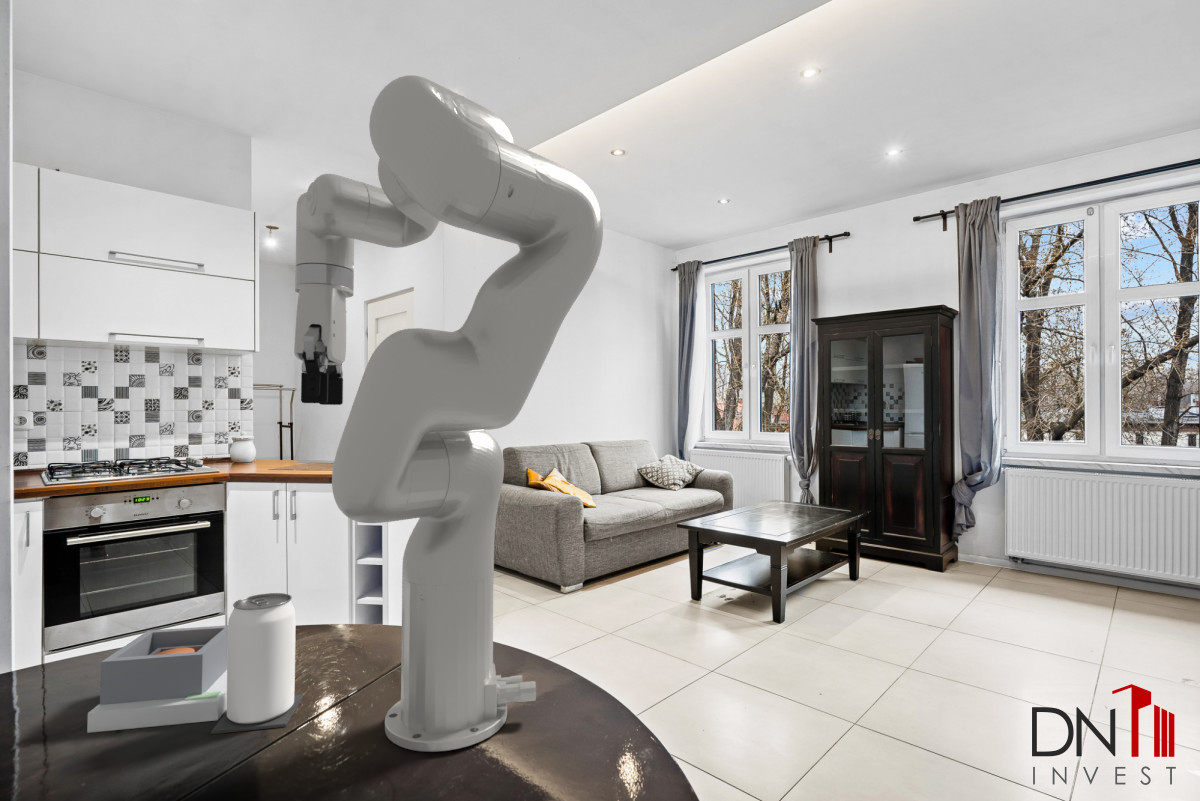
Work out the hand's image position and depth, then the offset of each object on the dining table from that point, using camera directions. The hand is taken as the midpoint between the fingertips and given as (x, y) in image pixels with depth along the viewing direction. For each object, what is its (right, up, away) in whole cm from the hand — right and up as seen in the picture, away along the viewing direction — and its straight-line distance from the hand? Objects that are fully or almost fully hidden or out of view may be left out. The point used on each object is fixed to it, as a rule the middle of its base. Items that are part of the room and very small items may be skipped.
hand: (323, 403), depth 85 cm
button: (-10, -32, -16) cm, 37 cm away
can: (+2, -34, -19) cm, 39 cm away
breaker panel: (-9, -34, -15) cm, 38 cm away
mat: (+2, -34, -19) cm, 39 cm away
